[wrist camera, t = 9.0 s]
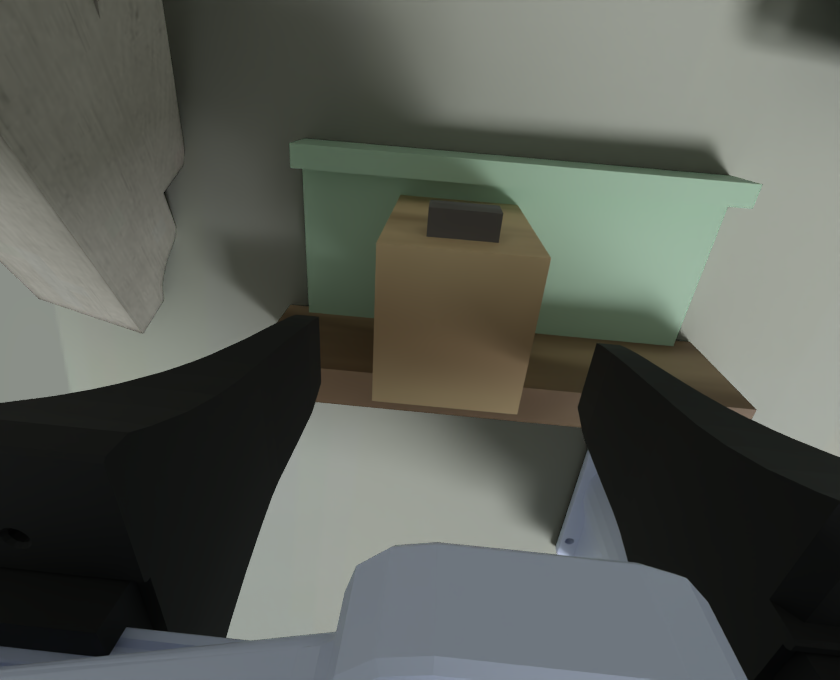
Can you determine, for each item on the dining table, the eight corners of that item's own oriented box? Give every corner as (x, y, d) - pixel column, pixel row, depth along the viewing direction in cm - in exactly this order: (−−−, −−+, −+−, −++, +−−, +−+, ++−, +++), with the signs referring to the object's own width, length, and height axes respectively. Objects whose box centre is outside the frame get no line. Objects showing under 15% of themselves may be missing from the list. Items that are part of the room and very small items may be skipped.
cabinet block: (497, 322, 20) (517, 414, 14) (394, 312, 20) (371, 400, 14) (521, 183, 17) (558, 227, 11) (401, 173, 17) (376, 211, 11)
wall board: (678, 370, 21) (739, 442, 17) (292, 333, 21) (251, 395, 17) (689, 341, 20) (756, 409, 16) (290, 304, 20) (247, 361, 16)
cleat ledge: (667, 339, 20) (688, 362, 18) (312, 306, 20) (299, 326, 19) (730, 175, 17) (762, 184, 15) (305, 138, 17) (289, 143, 15)
